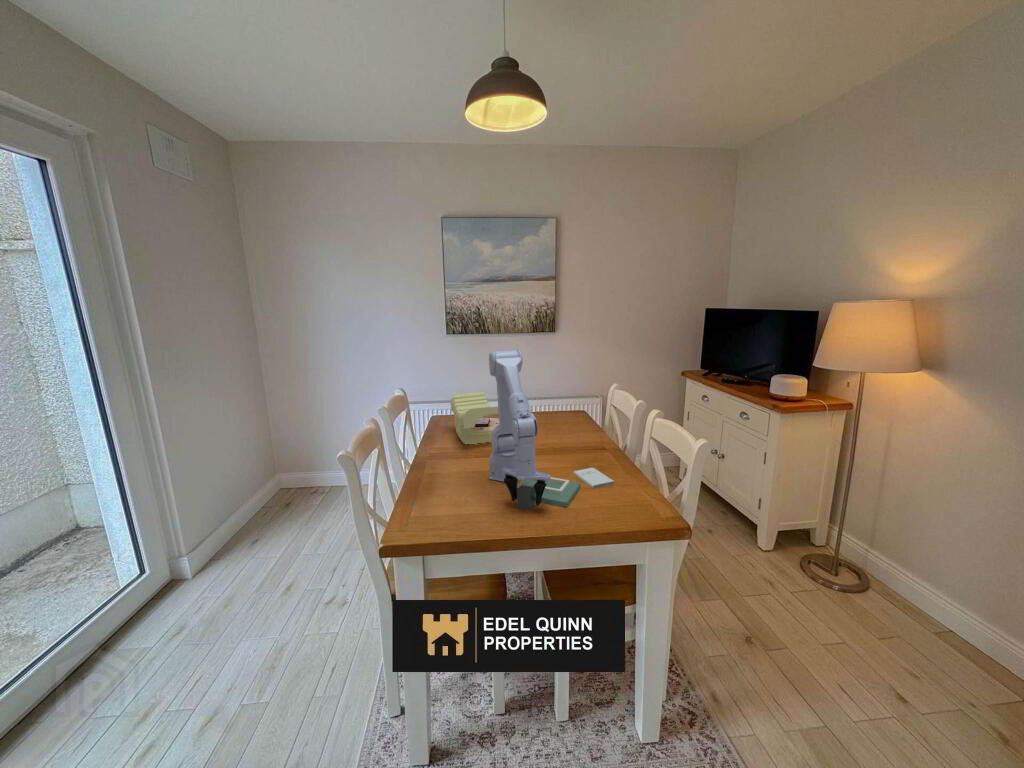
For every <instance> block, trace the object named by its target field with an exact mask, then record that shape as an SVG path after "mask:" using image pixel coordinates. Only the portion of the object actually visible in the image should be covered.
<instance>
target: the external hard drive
mask: <svg viewBox="0 0 1024 768" xmlns="http://www.w3.org/2000/svg"><path fill="white" fill-rule="evenodd" d="M574 474H575V475H574ZM573 475H574V476H576V477H577V478H579V479H580V480H581V481H583V483H585V484H586V485H587V486H589V487H590V488H592V489H597V488H602V487H607V486H611V485H615V481H614V480H613V479H611V478H610V477H609V476H607V475H605V474H604V473H602V472H600V471H599V470H598V469H596V468H595V467H588V468H584V469H579V470H574V471H573Z"/></svg>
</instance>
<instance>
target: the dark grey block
mask: <svg viewBox="0 0 1024 768" xmlns="http://www.w3.org/2000/svg"><path fill="white" fill-rule="evenodd" d="M516 501H517V502H516V503H517V506H516V507H517V508H518V510H523V511H526V510H528V512H531V511H532V510H533V508H534V507H535V506H536V501H535V489H534V486H532V485H526V484H522V485H521V486H520V487H519V488H518V489H517V499H516Z"/></svg>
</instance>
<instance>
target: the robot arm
mask: <svg viewBox="0 0 1024 768" xmlns="http://www.w3.org/2000/svg"><path fill="white" fill-rule="evenodd" d="M523 363H524V362H523V353H522V352H521V350H520V349H511V350H498V351H497V350H492V351H490V353H489V355H488V365H489V367H488V368H489V374H490V376H492V377H494V378H495V381H496V382H495V383H496V394H497V407H498V412H499V413H498V424H497V425H496V427H495V428H494V429H491V431H492V438H491V442H490V444H491V449H492V452H491V453H490V456H489V463H488V464H489V465H488V466H489V477H488V479H489V480H493V481H498V482H503V483H504V484H505V485H506V488H507V490H508V492H509V493H510V494H509V495H510V498H511V501H513V502H515V501H517V485H518V481H523V480H524V479H529V480H535V481H537V482H536V483H535V484H534V489H535V494H536V501H535V506H540V505H541V504H542V502H541V499H542V495H543V492H544V489H545V487H546V485H547V484H548V483H549V482H550V481H551V480H550V477H551V474H547V473H545V472H541V471H538V470H536V437H537V435H538V431H539V429H538V428H539V427H538V426H539V425H538V421H537V418H536V417H535V415H534V413H533V412H531V407H530V404H529V401H528V397H527V395H526V394H524V393H523V390H522V386H521V385H522V384H521V379H520V372H521V370H522V367H523Z"/></svg>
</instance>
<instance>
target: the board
mask: <svg viewBox="0 0 1024 768" xmlns="http://www.w3.org/2000/svg"><path fill="white" fill-rule="evenodd" d="M550 480H551V481H550V482H549V483H548V484H547V485H546V487H545V489H544V492H543V495H542V499H541V504H542V503H543V504H548V505H553V506H557V507H562V508H568V507H569V505H570V503H571V502H572V501H573V499H574V498H575V496H576V495H577V493H578V492H579V490H580V489H581V486H582V485H581V482H577V481H573V480H572V481H571V480H568V479H564V478H557V477H552V476H550ZM536 482H537V481H535V480H529V479H524V480H521V482H519V483H518V484H517V489H518V488H519V487H520V486H521V485H522V484H526V485H532V486H534V484H535V483H536ZM535 502H536V494H535Z"/></svg>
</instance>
